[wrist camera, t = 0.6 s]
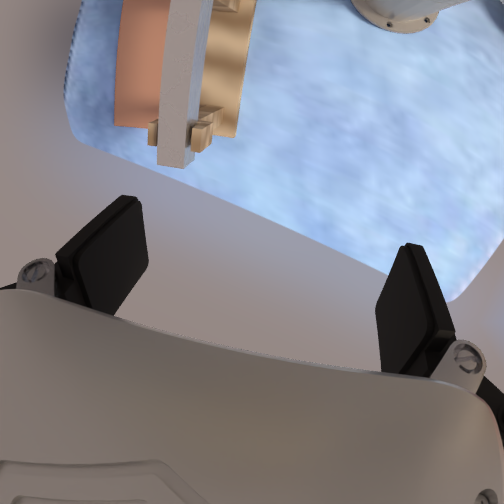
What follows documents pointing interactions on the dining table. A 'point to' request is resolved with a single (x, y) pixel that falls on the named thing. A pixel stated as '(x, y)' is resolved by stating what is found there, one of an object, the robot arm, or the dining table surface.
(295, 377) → the robot arm
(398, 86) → the dining table surface
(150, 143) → the hook stand
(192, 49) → the steel bar
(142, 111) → the terracotta mat
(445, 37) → the dining table surface
